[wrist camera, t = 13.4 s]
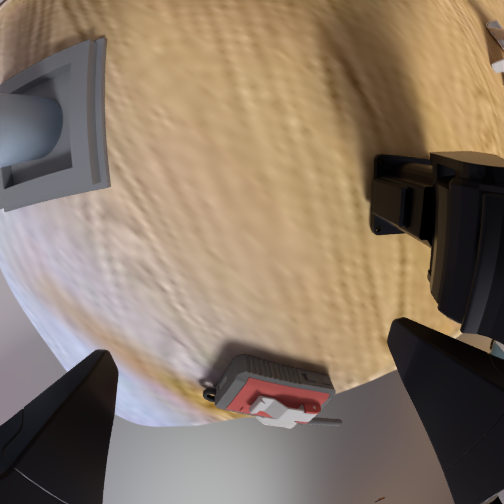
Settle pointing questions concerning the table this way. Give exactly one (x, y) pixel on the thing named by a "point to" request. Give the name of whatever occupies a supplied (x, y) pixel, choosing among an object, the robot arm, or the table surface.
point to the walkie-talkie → (273, 393)
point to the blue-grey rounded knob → (28, 127)
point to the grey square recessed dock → (63, 128)
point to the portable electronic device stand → (500, 35)
